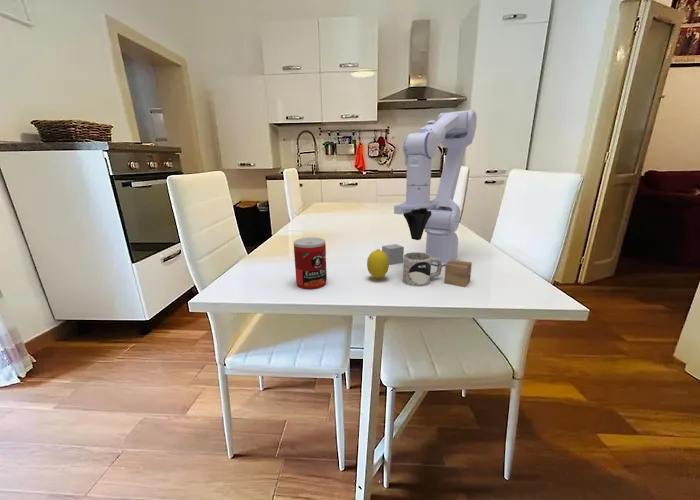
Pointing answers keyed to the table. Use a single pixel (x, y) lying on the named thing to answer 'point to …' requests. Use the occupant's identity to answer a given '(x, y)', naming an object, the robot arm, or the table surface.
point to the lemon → (377, 263)
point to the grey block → (394, 253)
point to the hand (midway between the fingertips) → (416, 239)
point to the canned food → (310, 262)
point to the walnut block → (457, 272)
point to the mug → (419, 269)
